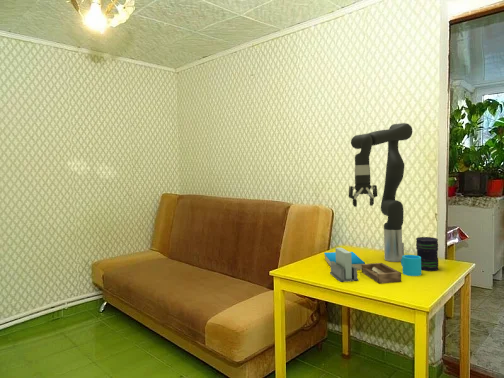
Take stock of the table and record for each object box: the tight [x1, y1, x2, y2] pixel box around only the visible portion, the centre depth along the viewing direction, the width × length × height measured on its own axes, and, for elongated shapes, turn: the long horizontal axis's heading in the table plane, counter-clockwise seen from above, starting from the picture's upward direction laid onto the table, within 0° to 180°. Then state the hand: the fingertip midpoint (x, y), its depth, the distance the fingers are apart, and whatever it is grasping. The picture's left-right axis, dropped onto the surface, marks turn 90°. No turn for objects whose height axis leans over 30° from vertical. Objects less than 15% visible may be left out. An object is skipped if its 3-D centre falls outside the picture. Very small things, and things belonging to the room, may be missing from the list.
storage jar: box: [415, 236, 439, 272], centre depth 176 cm, size 10×10×15 cm
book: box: [323, 251, 366, 271], centre depth 192 cm, size 17×4×25 cm
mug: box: [400, 254, 422, 277], centre depth 171 cm, size 12×8×8 cm
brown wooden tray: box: [361, 262, 402, 284], centre depth 166 cm, size 10×18×4 cm, turn 7°
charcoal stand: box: [329, 261, 359, 283], centre depth 168 cm, size 8×14×6 cm, turn 7°
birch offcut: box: [372, 267, 384, 274], centre depth 166 cm, size 2×7×2 cm
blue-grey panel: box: [335, 247, 352, 279], centre depth 168 cm, size 3×12×12 cm, turn 7°
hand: (363, 206), depth 179 cm, fingers open, 8 cm apart
